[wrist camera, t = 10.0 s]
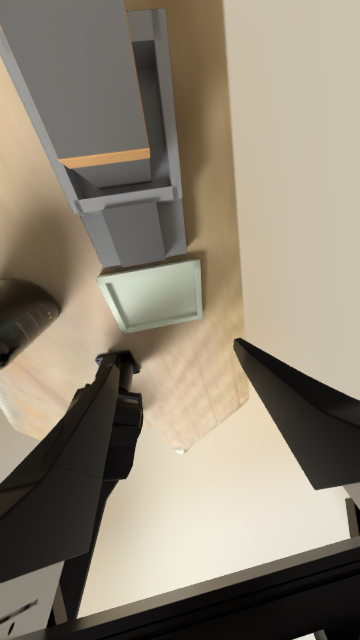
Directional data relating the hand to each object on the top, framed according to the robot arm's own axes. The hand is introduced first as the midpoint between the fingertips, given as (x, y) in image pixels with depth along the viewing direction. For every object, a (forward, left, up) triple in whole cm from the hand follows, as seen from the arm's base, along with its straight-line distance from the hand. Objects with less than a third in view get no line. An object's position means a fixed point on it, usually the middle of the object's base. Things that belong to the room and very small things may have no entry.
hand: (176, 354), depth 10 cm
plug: (+13, +2, -10) cm, 17 cm away
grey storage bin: (+11, +2, -12) cm, 17 cm away
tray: (-1, +2, -12) cm, 12 cm away
